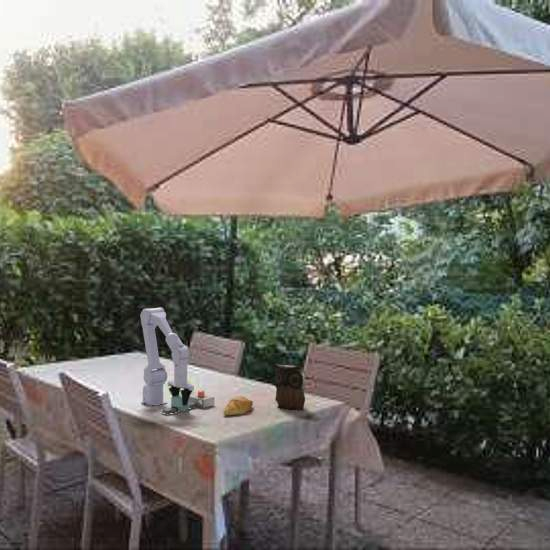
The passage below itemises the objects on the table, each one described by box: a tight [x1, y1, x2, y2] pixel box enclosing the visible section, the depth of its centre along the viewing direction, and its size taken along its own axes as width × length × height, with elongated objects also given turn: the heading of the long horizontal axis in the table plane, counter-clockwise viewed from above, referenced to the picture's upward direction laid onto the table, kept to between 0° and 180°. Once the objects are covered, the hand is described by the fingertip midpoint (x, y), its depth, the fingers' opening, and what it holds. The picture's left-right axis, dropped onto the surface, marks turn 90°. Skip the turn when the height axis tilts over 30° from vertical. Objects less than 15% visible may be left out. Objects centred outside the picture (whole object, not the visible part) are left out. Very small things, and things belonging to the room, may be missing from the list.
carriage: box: [170, 394, 189, 413], centre depth 318 cm, size 5×6×6 cm
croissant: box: [222, 396, 254, 416], centre depth 318 cm, size 21×10×8 cm, turn 149°
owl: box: [274, 363, 306, 411], centre depth 325 cm, size 13×13×20 cm
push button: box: [197, 390, 206, 398], centre depth 328 cm, size 3×3×4 cm
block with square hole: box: [189, 393, 215, 409], centre depth 328 cm, size 10×7×4 cm
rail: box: [162, 402, 199, 415], centre depth 318 cm, size 3×19×2 cm, turn 142°
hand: (180, 404), depth 318 cm, fingers closed on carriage, 5 cm apart
